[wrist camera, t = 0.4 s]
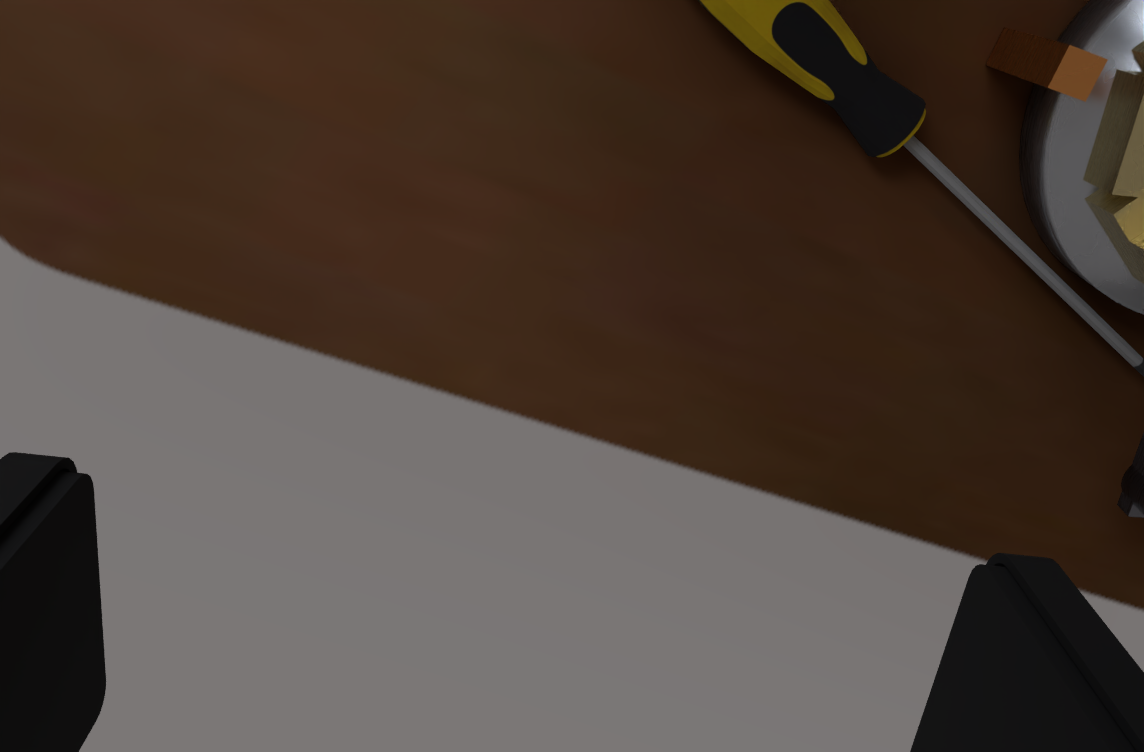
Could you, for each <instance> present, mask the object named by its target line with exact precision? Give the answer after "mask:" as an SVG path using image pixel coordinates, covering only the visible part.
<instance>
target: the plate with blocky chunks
mask: <svg viewBox="0 0 1144 752" xmlns="http://www.w3.org/2000/svg"><path fill="white" fill-rule="evenodd" d="M1142 41H1144V0H1090V1H1089V2H1088V3H1087V4H1086V5H1085V6H1084V7H1083V8H1082V9H1081V10H1080V11H1079V12H1078V13H1077V15H1076V16H1075V17H1074V19H1073V20H1072V21H1071V22H1070V24H1069V25H1068V26H1067V28H1066V29H1065V30H1064V31H1063V33H1062V34H1061V35H1060V37H1059V39H1058V40H1057V41H1053V40H1050V39H1046V38H1042V37H1038V36H1035V35H1031V34H1027V33H1023V32H1019V31H1016V30H1012V29H1008V28H1003V30H1002V32H1001V35H1000V37H999V39H998V41H997V43H996V45H995V47H994V49H993V51H992V53H991V55H990V57H989V59H988V61H987V63H986V65H987V66H989V67H992V68H995V69H997V70H1000V71H1003V72H1005V73H1008V74H1011V75H1014V76H1016V77H1019V78H1022V79H1024V80H1027V81H1030V82H1033V83H1035V84H1034V86H1033V89H1032V92H1031V95H1030V98H1029V101H1028V104H1027V107H1026V111H1025V116H1024V121H1023V125H1022V130H1021V139H1020V151H1019V163H1020V180H1021V185H1022V190H1023V196H1024V201H1025V204H1026V206H1027V209H1028V212H1029V215H1030V218H1031V220H1032V222H1033V224H1034V226H1035V228H1036V230H1037V232H1038V234H1039V235H1040V237H1041V239H1042V240H1043V242H1044V243H1045V244H1046V246H1047V247H1048V248H1049V250H1050V251H1051V252H1052V253H1053V255H1054V256H1055V257H1056V258H1057V259H1058V260H1060V261H1061V262H1062V263H1063V264H1064V265H1065V266H1066V267H1067V268H1068V269H1069V270H1071V271H1072V272H1074V273H1075V274H1076V275H1078V276H1079V277H1081V278H1082V279H1084V280H1085V281H1086V282H1088V283H1089V284H1091V285H1092V286H1094V287H1095V288H1096V289H1098V290H1099V291H1101V292H1102V293H1104V294H1105V295H1107V296H1108V297H1109V298H1111V299H1112V300H1114V301H1115V302H1117V303H1119V304H1121V305H1123V306H1125V307H1127V308H1129V309H1131V310H1133V311H1135V312H1138V313H1141V314H1144V284H1143V283H1141V282H1140V281H1138V280H1137V279H1135V278H1134V277H1132V275H1131V273H1130V272H1129V270H1128V268H1127V267H1126V265H1125V264H1124V262H1123V260H1122V259H1121V257H1120V256H1119V254H1118V252H1117V251H1116V249H1115V247H1114V246H1113V244H1112V243H1111V241H1110V239H1109V238H1108V236H1107V235H1106V233H1105V231H1104V230H1103V228H1102V226H1101V225H1100V223H1099V222H1098V220H1097V218H1096V217H1095V215H1094V213H1093V212H1092V210H1091V209H1090V207H1089V205H1088V204H1087V202H1086V201H1085V198H1087V197H1088V196H1089V195H1091V194H1092V193H1094V192H1095V191H1097V190H1098V189H1100V188H1098V187H1096V186H1094V185H1092V184H1090V183H1088V182H1086V181H1084V180H1083V178H1084V174H1085V171H1086V168H1087V165H1088V161H1089V158H1090V155H1091V152H1092V148H1093V145H1094V142H1095V139H1096V135H1097V132H1098V129H1099V126H1100V122H1101V119H1102V116H1103V113H1104V109H1105V106H1106V103H1107V100H1108V96H1109V93H1110V90H1111V87H1112V83H1113V80H1114V77H1115V74H1116V70H1117V69H1118V70H1127V71H1137V72H1143V70H1142V69H1141V67H1140V65H1139V63H1138V62H1137V60H1136V58H1135V56H1134V54H1133V53H1132V51H1131V49H1133V48H1134V47H1135V46H1137V45H1138V44H1140V43H1141V42H1142Z"/></svg>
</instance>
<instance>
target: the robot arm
mask: <svg viewBox="0 0 1144 752" xmlns="http://www.w3.org/2000/svg"><path fill="white" fill-rule="evenodd" d="M105 689H106V673H105V658H104V643H103V627H102V611H101V596H100V580H99V563H98V548H97V532H96V516H95V502H94V488H93V482H92V479H91V477H90V476H89V475H88V474H83V473H77V470H76V467H75V464H74V462H73V461H72V460H71V459H70V458H65V457H55V456H45V455H35V454H26V453H16V452H15V453H8V454H7V455H5V456H4V457H2V458H1V459H0V752H79V750H80V748H81V746H82V745H83V743H84V741H85V739H86V738H87V736H88V734H89V732H90V731H91V729H92V727H93V725H94V724H95V722H96V720H97V718H98V716H99V714H100V711H101V707H102V705H103V701H104V696H105ZM910 752H1144V672H1143V671H1142V670H1141V669H1140V667H1139V666H1138V665H1137V664H1136V662H1135V661H1134V660H1133V658H1132V657H1131V656H1130V655H1129V654H1128V652H1127V651H1126V650H1125V648H1124V647H1123V646H1122V644H1121V643H1120V642H1119V641H1118V639H1117V638H1116V637H1115V636H1114V634H1113V633H1112V632H1111V631H1110V629H1109V628H1108V627H1107V625H1106V624H1105V623H1104V622H1103V621H1102V619H1101V618H1100V617H1099V615H1098V614H1097V613H1096V612H1095V610H1094V609H1093V608H1092V607H1091V605H1090V604H1089V603H1088V601H1087V600H1086V599H1085V598H1084V596H1083V595H1082V594H1081V593H1080V591H1079V590H1078V589H1077V587H1076V586H1075V585H1074V584H1073V582H1072V581H1071V580H1070V579H1069V577H1068V576H1067V575H1066V574H1065V572H1064V571H1063V570H1062V569H1061V567H1060V566H1059V565H1058V564H1057V563H1056V562H1055V561H1054V560H1053V559H1049V558H1044V557H1034V556H1024V555H1014V554H1005V553H997V554H995V555H993V556H992V557H991V558H990V559H989V560H988V562H987V564H986V565H982V564H980V565H977V566H975V568H974V569H973V570H972V572H971V574H970V576H969V578H968V581H967V584H966V588H965V590H964V593H963V596H962V599H961V602H960V606H959V608H958V612H957V614H956V617H955V620H954V623H953V626H952V629H951V632H950V635H949V638H948V641H947V644H946V647H945V650H944V653H943V656H942V659H941V662H940V665H939V668H938V671H937V674H936V677H935V680H934V683H933V686H932V689H931V692H930V695H929V698H928V700H927V703H926V706H925V709H924V712H923V715H922V718H921V721H920V725H919V727H918V731H917V733H916V736H915V739H914V742H913V745H912V748H911V751H910Z"/></svg>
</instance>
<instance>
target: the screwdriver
mask: <svg viewBox="0 0 1144 752" xmlns="http://www.w3.org/2000/svg"><path fill="white" fill-rule="evenodd" d="M698 1H699V2H700V4H701V5H702V6H703V7H704V8H705V9H706V10H707V11H708V12H709V13H710V14H711V15H712V16H713V17H715V18H716V19H717V20H718V21H719V22H720V23H721V24H722V25H723V26H724V27H725V28H726V29H727V30H728V31H729V32H730V33H731V34H733V35H734V36H735V37H736V38H737V39H738V40H739V41H740V42H741V43H742V44H743V45H744V46H746V47H747V48H748V49H749V50H751V51H752V52H753V53H755V54H756V55H758V56H759V57H760V58H762V59H763V60H765V61H766V62H768V63H769V64H770V65H772V66H773V67H775V68H776V69H778V70H779V71H780V72H782V73H783V74H785V75H786V76H788V77H789V78H790V79H792V80H793V81H795V82H796V83H798V84H799V85H800V86H802V87H803V88H805V89H806V90H808V91H809V92H811V93H812V94H813V95H815V96H816V97H818V98H819V99H821V100H822V101H824V102H825V103H826V104H828V105H829V106H831V107H832V108H834V109H835V110H836V112H837V113H838V115H839V116H840V117H841V119H842V120H843V122H844V123H845V124H846V126H847V127H848V128H849V130H850V131H851V133H852V134H853V135H854V137H855V138H856V140H857V141H858V142H859V144H860V145H861V147H862V148H863V149H864V151H865V152H866V153H867V155H868V156H872V157H884V156H887V155H890V154H891V153H893V152H895V151H896V150H898V149H899V148H900V147H902V146H904V147H905V148H906V149H907V150H909V151H910V152H911V153H912V154H913V155H914V156H915V157H916V158H917V159H918V160H919V161H920V162H921V163H922V164H923V165H924V166H925V167H926V168H927V169H928V170H929V171H930V172H931V173H932V174H933V175H934V176H936V177H937V178H938V179H939V180H940V181H941V182H942V183H943V184H944V185H945V186H946V187H947V188H948V189H949V190H950V191H951V192H952V193H953V194H954V195H955V196H956V197H957V198H958V199H959V200H960V201H961V202H963V203H964V204H965V205H966V206H967V207H968V208H969V209H970V210H971V211H972V212H973V213H974V214H975V215H976V216H977V217H978V218H979V219H980V220H981V221H982V222H983V223H984V224H985V225H986V226H987V227H988V228H990V229H991V230H992V231H993V232H994V233H995V234H996V235H997V236H998V237H999V238H1000V239H1001V240H1002V241H1003V242H1004V243H1005V244H1006V245H1007V246H1008V247H1009V248H1010V249H1011V250H1012V251H1013V252H1014V253H1015V254H1017V255H1018V256H1019V257H1020V258H1021V259H1022V260H1023V261H1024V262H1025V263H1026V264H1027V265H1028V266H1029V267H1030V268H1031V269H1032V270H1033V271H1034V272H1035V273H1036V274H1037V275H1038V276H1039V277H1040V278H1041V279H1042V280H1044V281H1045V282H1046V283H1047V284H1048V285H1049V286H1050V287H1051V288H1052V289H1053V290H1054V291H1055V292H1056V293H1057V294H1058V295H1059V296H1060V297H1061V298H1062V299H1063V300H1064V301H1065V302H1066V303H1067V304H1068V305H1069V306H1071V307H1072V308H1073V309H1074V310H1075V311H1076V312H1077V313H1078V314H1079V315H1080V316H1081V317H1082V318H1083V319H1084V320H1085V321H1086V322H1087V323H1088V324H1089V325H1090V326H1091V327H1092V328H1093V329H1094V330H1095V331H1096V332H1098V333H1099V334H1100V335H1101V336H1102V337H1103V338H1104V339H1105V340H1106V341H1107V342H1108V343H1109V344H1110V345H1111V346H1112V347H1113V348H1114V349H1115V350H1116V351H1117V352H1118V353H1119V354H1120V355H1121V356H1122V357H1123V358H1125V359H1126V360H1127V361H1128V362H1129V363H1130V364H1131V365H1132V366H1133V367H1134V368H1135V369H1136V370H1137V371H1138V372H1139V373H1140V374H1141V375H1142V376H1144V359H1143V358H1142V357H1141V356H1140V355H1139V354H1138V353H1137V352H1136V351H1135V350H1134V349H1133V348H1132V347H1131V346H1130V345H1129V344H1128V343H1127V342H1126V341H1125V340H1124V339H1123V338H1122V337H1121V336H1120V335H1119V334H1117V333H1116V332H1115V331H1114V330H1113V329H1112V328H1111V327H1110V326H1109V325H1108V324H1107V323H1106V322H1105V321H1104V320H1103V319H1102V318H1101V317H1100V316H1099V315H1098V314H1097V313H1096V312H1095V311H1094V310H1093V309H1092V308H1091V307H1090V306H1089V305H1088V304H1087V303H1086V302H1085V301H1084V300H1082V299H1081V298H1080V297H1079V296H1078V295H1077V294H1076V293H1075V292H1074V291H1073V290H1072V289H1071V288H1070V287H1069V286H1068V285H1067V284H1066V283H1065V282H1064V281H1063V280H1062V279H1061V278H1060V277H1059V276H1058V275H1057V274H1056V273H1055V272H1054V271H1053V270H1052V269H1051V268H1050V267H1048V266H1047V265H1046V264H1045V263H1044V262H1043V261H1042V260H1041V259H1040V258H1039V257H1038V256H1037V255H1036V254H1035V253H1034V252H1033V251H1032V250H1031V249H1030V248H1029V247H1028V246H1027V245H1026V244H1025V243H1024V242H1023V241H1022V240H1021V239H1020V238H1019V237H1018V236H1017V235H1016V234H1015V233H1013V232H1012V231H1011V230H1010V229H1009V228H1008V227H1007V226H1006V225H1005V224H1004V223H1003V222H1002V221H1001V220H1000V219H999V218H998V217H997V216H996V215H995V214H994V213H993V212H992V211H991V210H990V209H989V208H988V207H987V206H986V205H985V204H984V203H983V202H982V201H981V200H980V199H978V198H977V197H976V196H975V195H974V194H973V193H972V192H971V191H970V190H969V189H968V188H967V187H966V186H965V185H964V184H963V183H962V182H961V181H960V180H959V179H958V178H957V177H956V176H955V175H954V174H953V173H952V172H951V171H950V170H949V169H948V168H947V167H946V166H945V165H943V164H942V163H941V162H940V161H939V160H938V159H937V158H936V157H935V156H934V155H933V154H932V153H931V152H930V151H929V150H928V149H927V148H926V147H925V146H924V145H923V144H922V143H921V142H920V141H919V140H918V139H917V138H916V137H915V136H914V134H915V133H916V131H917V130H918V129H919V127H920V126H921V124H922V122H923V120H924V118H925V114H926V110H925V105H926V104H925V102H924V100H923V99H922V98H920V97H919V96H917V95H916V94H914V93H913V92H911V91H910V90H908V89H906V88H905V87H903V86H902V85H900V84H899V83H897V82H896V81H894V80H893V79H891V78H889V77H888V76H886V75H885V74H883V73H882V72H880V71H879V70H878V69H877V67H876V66H875V64H874V63H873V61H872V60H871V58H870V57H869V56H868V54H867V53H866V51H865V50H864V48H863V47H862V45H861V44H860V43H859V41H858V40H857V38H856V37H855V35H854V34H853V32H852V31H851V30H850V28H849V27H848V25H847V24H846V23H845V21H844V20H843V19H842V17H841V16H840V15H839V13H838V12H837V11H836V9H835V8H834V6H833V5H832V4H831V2H830V1H829V0H698Z"/></svg>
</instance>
